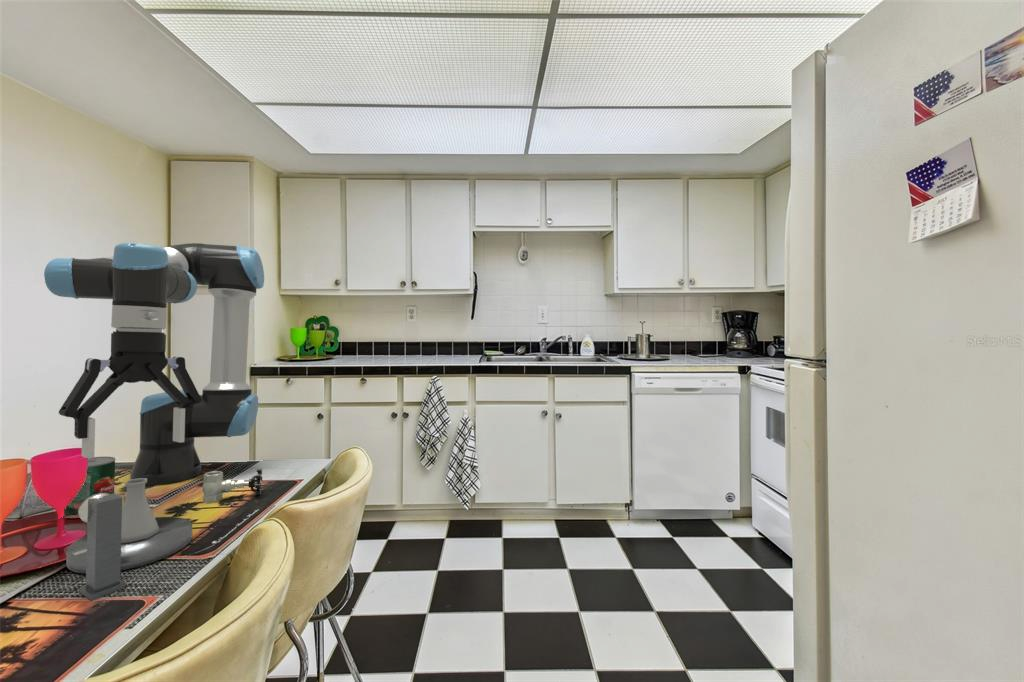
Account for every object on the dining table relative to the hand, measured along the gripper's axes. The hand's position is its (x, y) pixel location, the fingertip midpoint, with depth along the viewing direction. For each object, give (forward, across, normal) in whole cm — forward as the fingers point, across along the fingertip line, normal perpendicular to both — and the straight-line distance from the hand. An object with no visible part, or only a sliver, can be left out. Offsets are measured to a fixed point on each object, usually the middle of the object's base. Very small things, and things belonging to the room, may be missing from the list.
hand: (136, 448), depth 78 cm
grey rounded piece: (+18, 0, 0) cm, 18 cm away
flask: (+16, 0, 0) cm, 16 cm away
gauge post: (+18, -8, -11) cm, 23 cm away
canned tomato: (+19, +3, +28) cm, 34 cm away
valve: (+19, +23, +11) cm, 32 cm away
